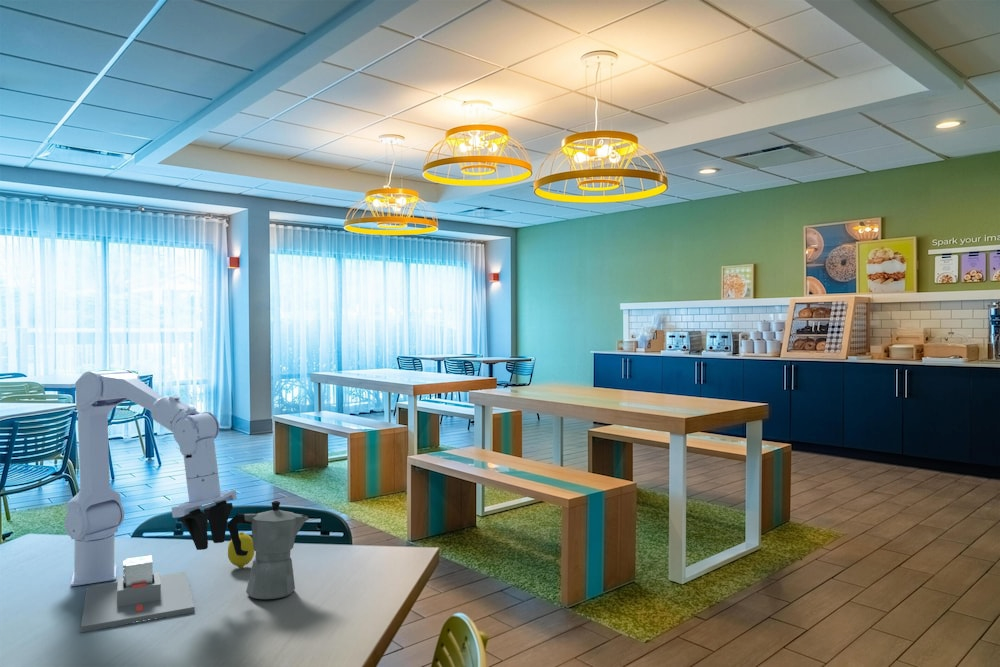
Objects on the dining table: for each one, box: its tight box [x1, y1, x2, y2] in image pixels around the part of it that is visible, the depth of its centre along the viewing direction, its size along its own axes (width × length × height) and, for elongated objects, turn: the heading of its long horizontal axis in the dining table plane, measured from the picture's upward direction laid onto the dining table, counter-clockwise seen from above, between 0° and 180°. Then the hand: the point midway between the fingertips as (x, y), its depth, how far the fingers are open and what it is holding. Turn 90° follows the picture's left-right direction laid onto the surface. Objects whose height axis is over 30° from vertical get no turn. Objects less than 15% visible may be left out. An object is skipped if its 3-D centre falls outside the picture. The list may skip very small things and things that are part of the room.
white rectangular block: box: [122, 554, 153, 588], centre depth 129 cm, size 5×5×7 cm
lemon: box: [227, 531, 256, 569], centre depth 147 cm, size 6×6×8 cm
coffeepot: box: [227, 500, 310, 600], centre depth 134 cm, size 15×9×18 cm, turn 107°
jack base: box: [80, 571, 196, 633], centre depth 129 cm, size 20×18×4 cm
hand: (210, 545), depth 129 cm, fingers open, 4 cm apart
